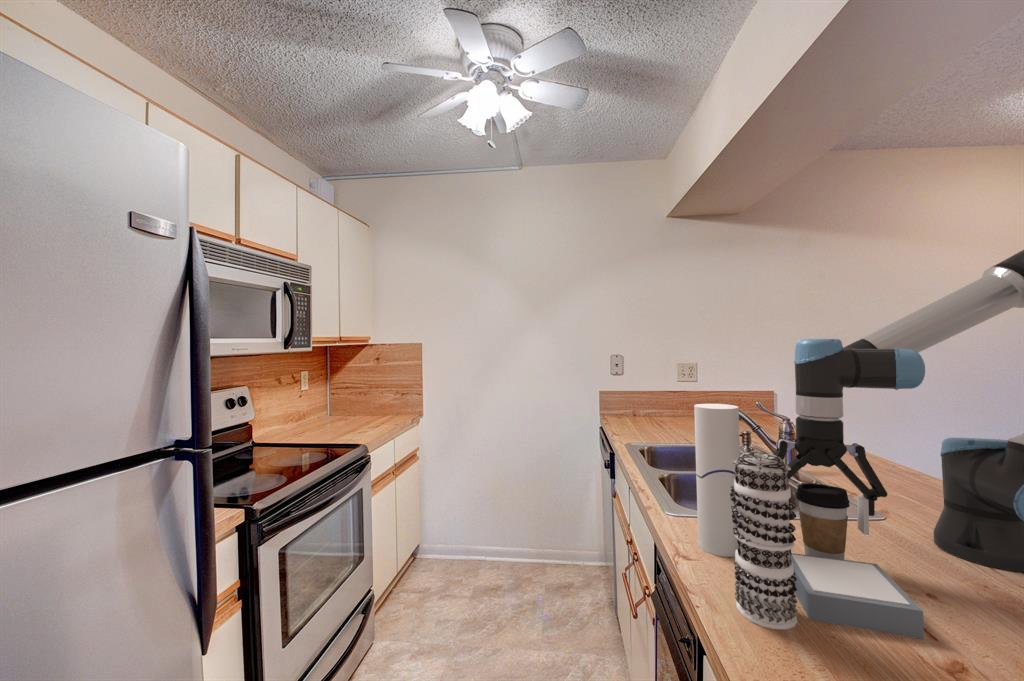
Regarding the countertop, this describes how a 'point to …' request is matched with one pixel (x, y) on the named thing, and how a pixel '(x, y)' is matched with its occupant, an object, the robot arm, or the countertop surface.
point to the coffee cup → (823, 519)
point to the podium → (854, 596)
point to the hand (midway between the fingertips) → (820, 526)
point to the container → (716, 475)
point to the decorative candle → (764, 541)
